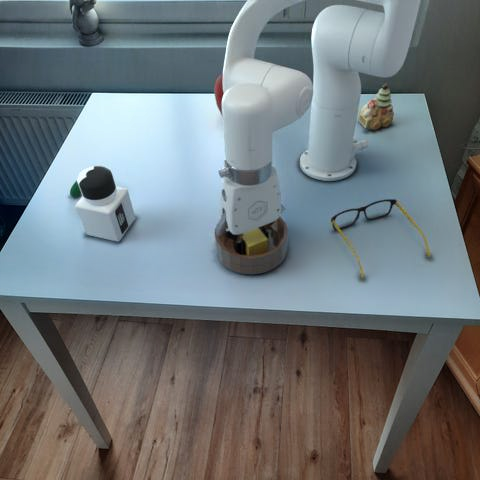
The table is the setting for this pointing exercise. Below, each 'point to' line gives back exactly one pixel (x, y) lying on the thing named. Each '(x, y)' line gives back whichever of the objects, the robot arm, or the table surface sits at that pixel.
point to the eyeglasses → (392, 202)
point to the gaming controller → (75, 190)
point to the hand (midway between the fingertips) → (251, 247)
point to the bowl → (255, 262)
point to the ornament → (377, 111)
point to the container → (103, 204)
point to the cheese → (255, 242)
